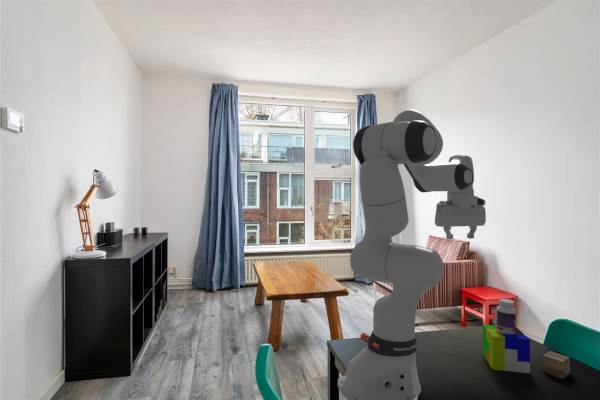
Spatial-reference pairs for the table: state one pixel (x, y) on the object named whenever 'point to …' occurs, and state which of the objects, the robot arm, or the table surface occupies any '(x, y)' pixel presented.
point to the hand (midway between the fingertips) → (460, 238)
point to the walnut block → (556, 364)
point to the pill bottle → (506, 317)
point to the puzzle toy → (506, 350)
